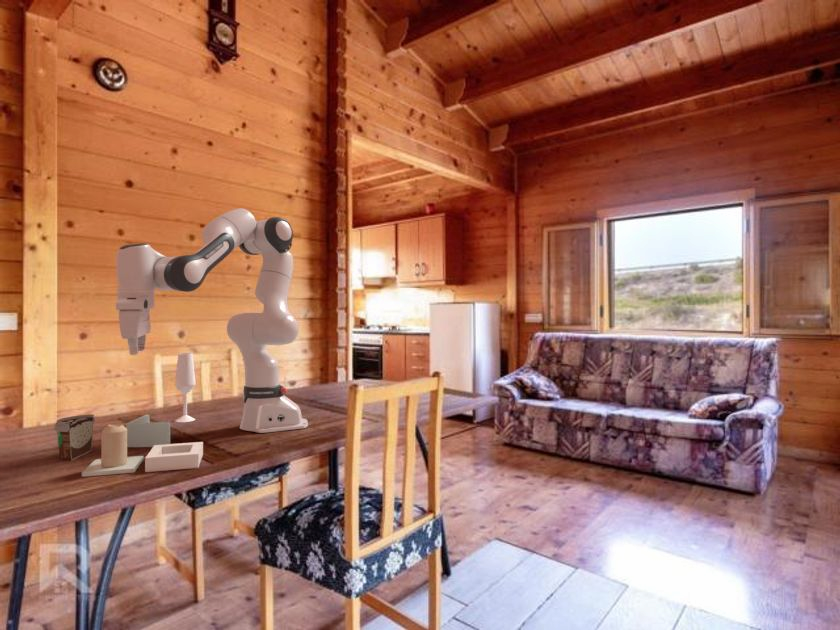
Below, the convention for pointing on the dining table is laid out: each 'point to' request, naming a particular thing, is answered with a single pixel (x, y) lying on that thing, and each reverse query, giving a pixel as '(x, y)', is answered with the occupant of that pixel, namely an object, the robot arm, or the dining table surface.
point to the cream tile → (97, 468)
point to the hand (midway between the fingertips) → (137, 352)
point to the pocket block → (174, 456)
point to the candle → (114, 446)
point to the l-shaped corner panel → (147, 432)
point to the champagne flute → (185, 381)
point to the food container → (74, 436)
